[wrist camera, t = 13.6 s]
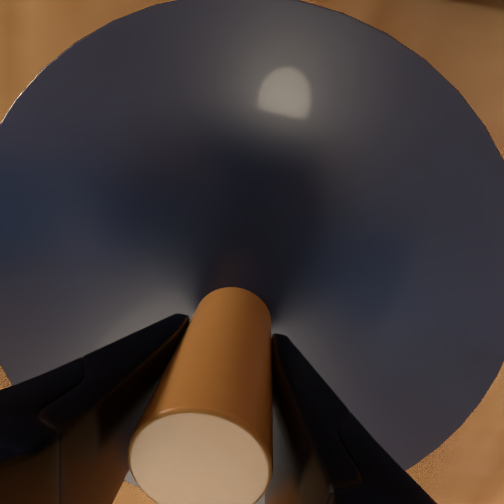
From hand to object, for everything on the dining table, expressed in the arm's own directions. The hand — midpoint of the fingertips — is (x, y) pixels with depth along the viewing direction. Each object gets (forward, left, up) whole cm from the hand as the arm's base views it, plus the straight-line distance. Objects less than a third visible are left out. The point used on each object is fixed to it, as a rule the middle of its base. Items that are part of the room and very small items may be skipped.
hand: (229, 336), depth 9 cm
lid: (0, 0, -1) cm, 1 cm away
